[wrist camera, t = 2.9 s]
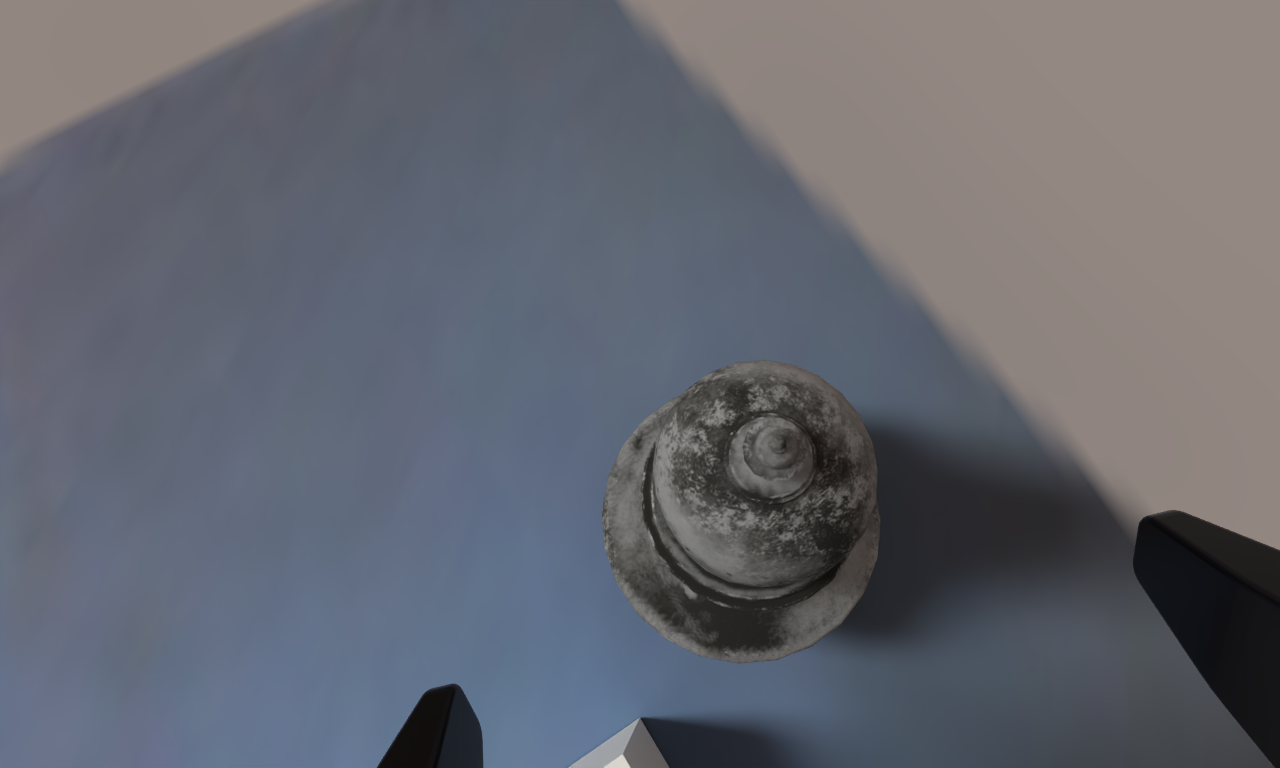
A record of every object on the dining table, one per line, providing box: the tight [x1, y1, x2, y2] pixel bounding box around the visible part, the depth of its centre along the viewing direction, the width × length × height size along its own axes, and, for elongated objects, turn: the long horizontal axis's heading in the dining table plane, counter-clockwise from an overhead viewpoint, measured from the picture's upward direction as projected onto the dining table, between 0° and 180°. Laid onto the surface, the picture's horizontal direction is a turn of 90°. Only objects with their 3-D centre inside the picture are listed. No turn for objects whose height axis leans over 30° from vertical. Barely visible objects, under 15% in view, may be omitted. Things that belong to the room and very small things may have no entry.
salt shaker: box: [602, 360, 881, 663], centre depth 13 cm, size 6×6×12 cm
